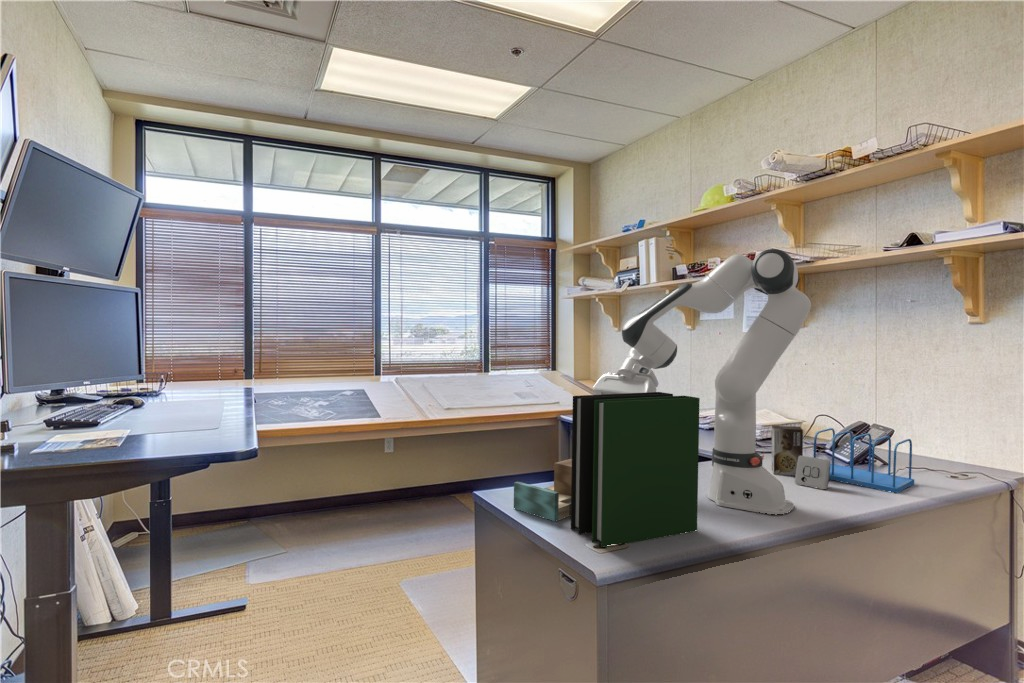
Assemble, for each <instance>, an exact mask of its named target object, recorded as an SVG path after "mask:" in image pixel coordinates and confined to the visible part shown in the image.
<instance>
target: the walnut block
mask: <svg viewBox="0 0 1024 683" xmlns="http://www.w3.org/2000/svg"><path fill="white" fill-rule="evenodd" d="M553 464H554V465H553V467H554V468H553V469H554V470H553V471H554V472H553V477H554V478H553V483H554V484H553V486H554V491H555V492H559V493H561V494H564V495H568V496H571V477H572V458H569V459H564V460H561V461H557V462H554V463H553Z"/></svg>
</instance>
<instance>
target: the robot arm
mask: <svg viewBox="0 0 1024 683" xmlns="http://www.w3.org/2000/svg"><path fill="white" fill-rule="evenodd" d="M799 282H800V273H799V271H798V267H797V264H796V262H795V261H794V260H793V259H792V256H790V254H789V253H787V252H786V251H784V250H782V249H777V248H770V249H766V250H764V251H761V252H760V253H758V254H757V255H756V256H755V258H754V259H753V260H752V259H751V258H749V257H748V256H745V255H743V254H733V255H731V256H729V257H728V258H726V259H724V260H723V261H722V262H721V263H719V264H718V265H717V266H716V267H714V269H712V270H711V271H710V272H709V273H708V274H707V275H706V276H705V277H704V278H702V279H701V280H698V281H696V282H693V283H690V282H685V283H683V284H680V285H678V286H677V287H675V288H673V289H672V290H670V291H669V292H668V293H667V294H665V295H664V296H662V297H661V298H659V299H658V300H657V301H655V302H653V304H651V305H650V306H648V307H647V308H646V309H644V310H642V311H641V312H639V313H637V314H636V315H634V316H633V317H631V318H629V319H627V321H626V322H625V323H624V324H623V326H622V328H621V337H622V341H623V342H624V343H625V344H627V345H628V346H630V348H629V350H628V353H627V356H626V358H624V360H623V361H622V363H621V364H620V366H619V368H618V370H617V372H613V373H612V372H607V373H604V374H602V375H601V376H600V377H599V379H597V381H596V382H595V384H594V385H593V386H592V390H593V392H594V395H603V394H625V393H647V392H657V388H658V386H659V380H658V379H657V376H656V374H655V372H654V371H653V370H657V369H663V368H667V367H670V365H671V364H672V363H673V361H674V360H675V359H676V357H677V353H678V345H677V343H676V342H675V341H674V340H673V339H671V338H670V337H669V336H668V335H667V334H666V333H664V332H663V331H662V330H661V329H660V328H659V327H658V326H656V325H655V324H654V322H656V321H657V320H658V319H660V318H662V317H663V316H664V315H665V314H667V313H668V312H670V311H671V310H673V309H675V308H677V307H686V308H691V309H694V310H696V311H699V312H701V313H705V314H718V313H722V312H724V311H726V309H727V308H729V307H730V306H731V305H732V304H733V303H734V302H735V301H736V300H737V299H738V298H740V297H741V296H742V295H743V294H744V293H746V292H747V291H748V290H750V289H754V290H755V291H757V292H760V293H762V294H764V295H767V301H766V304H764V306H763V309H761V311H760V313H759V314H758V315H757V317H756V318H755V319H754V321H753V322H752V324H751V325H750V327H749V328H748V330H747V331H746V333H745V334H744V335H743V337H742V338H741V340H740V341H739V343H738V344H737V345H736V347H735V348H734V350H733V351H732V353H731V354H730V356H729V357H728V358H727V359H726V362H724V364H723V366H722V367H721V368H720V369H719V371H718V373H717V374H716V376H715V379H714V389H715V404H714V405H715V407H714V409H715V410H714V432H713V434H714V436H713V437H714V440H713V441H714V442H713V447H712V450H711V451H712V453H711V463H712V464H711V466H712V475H711V480H710V484H709V489H708V492H707V494H706V496H707V498H708V499H710V500H711V501H713V502H715V504H716V505H718V506H719V507H725V508H732V509H735V510H744V511H748V512H754V513H759V512H760V514H765V513H767V514H766V515H771V514H775V515H774V516H778V515H777V514H783V515H785V514H784V513H787V512H789V511H791V510H792V509H793V508H794V509H795V504H794V502H793V501H792V500H789V499H786V492H785V489H784V486H783V483H782V482H781V481H780V480H779V479H777V477H776V476H774V474H773V473H772V472H769V471H768V470H767V469H766V468H765V467H764V466H763V461H764V460H765V455H764V454H763V455H761V454H760V453H759V452H757V451H756V450H757V448H756V445H757V444H756V442H757V440H756V439H757V438H756V437H757V393H758V391H759V390H760V388H761V387H762V386H763V384H764V382H765V381H766V379H767V378H768V376H769V375H770V373H771V372H772V370H773V369H774V367H775V366H776V364H777V362H778V361H779V360H780V359H781V357H782V355H783V354H784V353H785V351H786V350H787V349H788V347H789V345H790V344H791V343H792V342H793V340H794V339H795V337H796V336H797V335H798V333H799V331H800V330H801V328H802V327H803V325H804V323H805V321H806V319H807V318H808V315H809V314H810V311H811V308H812V303H811V302H812V301H811V300H810V298H809V297H808V296H807V295H806V294H805V293H804V292H803V291H801V290H799V289H797V288H798V286H799ZM794 509H793V510H794ZM793 510H792V511H793ZM792 511H791V512H792ZM789 513H790V512H789ZM787 514H788V513H787Z"/></svg>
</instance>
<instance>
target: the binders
mask: <svg viewBox="0 0 1024 683" xmlns="http://www.w3.org/2000/svg"><path fill="white" fill-rule="evenodd" d="M700 400H701V399H700V397H698V396H697V397H695V396H689V395H674V394H673V393H670V392H661V391H656V392H647V393H625V394H603V395H595V394H585V395H572V423H571V424H572V426H571V428H572V429H571V430H572V431H571V432H572V433H571V459H572V477H571V516H570V530H571V529H572V530H575V528H577V529H578V530H577V531H578V532H577V534H578V535H583V533H584V534H588V533H591V543H593V542H594V543H599V542H600V548H601V547H603V546H607V545H611V544H619V543H627V544H632V543H638V542H644V541H649V539H650V540H655V539H654V538H656V539H660V538H659V537H661V538H665V537H664V536H667V537H670V536H669V535H673V536H676V534H678V535H681V534H680V533H684V534H686V533H685V532H690V531H695V530H697V531H698V508H699V507H698V500H699V499H698V498H699V497H698V496H699V449H700V448H699V447H700V446H699V445H700V443H699V442H700V402H701V401H700ZM695 532H696V531H695ZM690 533H691V532H690ZM598 541H599V542H598Z"/></svg>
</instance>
